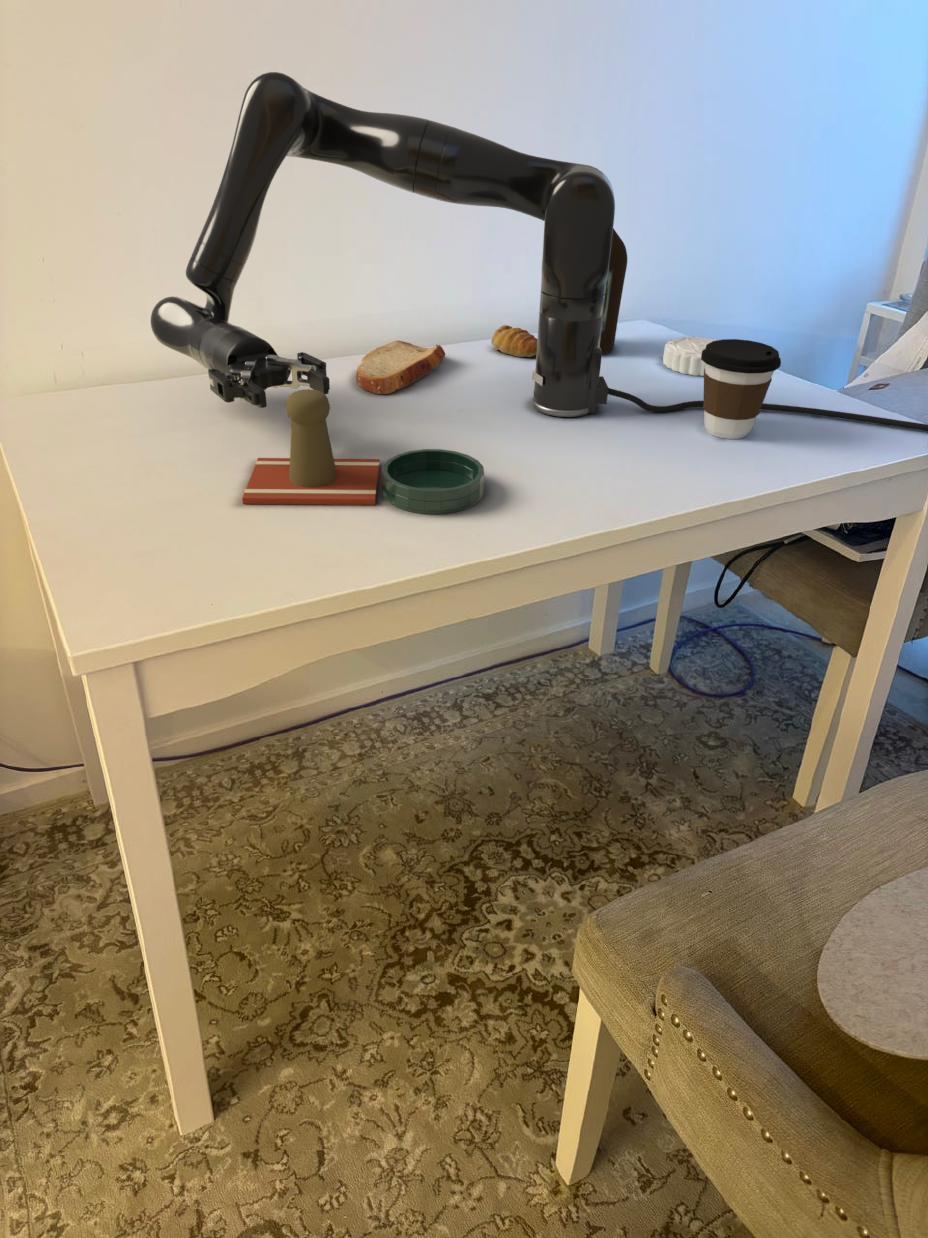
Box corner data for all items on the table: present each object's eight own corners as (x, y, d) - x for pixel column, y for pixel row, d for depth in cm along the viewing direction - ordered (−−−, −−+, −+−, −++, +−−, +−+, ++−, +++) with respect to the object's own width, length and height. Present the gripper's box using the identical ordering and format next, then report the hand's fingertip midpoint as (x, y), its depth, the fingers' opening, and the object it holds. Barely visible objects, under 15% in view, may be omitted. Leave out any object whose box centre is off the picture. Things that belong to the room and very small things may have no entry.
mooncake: (739, 377, 153) (744, 356, 151) (668, 375, 153) (671, 354, 151) (723, 355, 163) (727, 335, 161) (657, 353, 163) (660, 333, 161)
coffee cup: (770, 425, 136) (788, 344, 129) (757, 451, 127) (776, 366, 121) (697, 412, 139) (711, 333, 133) (680, 436, 131) (694, 353, 124)
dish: (480, 470, 120) (481, 449, 118) (485, 514, 109) (486, 491, 108) (384, 469, 119) (384, 448, 118) (380, 513, 109) (379, 490, 107)
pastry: (550, 354, 162) (552, 332, 160) (525, 362, 158) (526, 340, 156) (512, 341, 167) (513, 320, 165) (486, 349, 163) (487, 328, 161)
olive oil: (565, 336, 171) (577, 191, 157) (621, 343, 168) (639, 195, 154) (552, 353, 162) (564, 200, 148) (611, 360, 160) (629, 205, 146)
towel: (380, 464, 121) (379, 458, 120) (375, 505, 111) (375, 498, 110) (258, 463, 120) (257, 456, 120) (242, 504, 110) (241, 497, 110)
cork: (290, 467, 117) (283, 384, 111) (338, 466, 118) (333, 383, 112) (287, 487, 112) (279, 401, 106) (336, 487, 113) (331, 401, 107)
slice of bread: (368, 397, 142) (367, 373, 139) (334, 362, 155) (333, 340, 153) (474, 383, 148) (474, 361, 146) (432, 351, 161) (432, 330, 159)
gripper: (183, 338, 116) (238, 373, 106) (283, 321, 124) (344, 353, 113) (191, 394, 121) (245, 434, 110) (288, 375, 128) (347, 411, 117)
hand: (295, 393), depth 111 cm, fingers open, 8 cm apart
